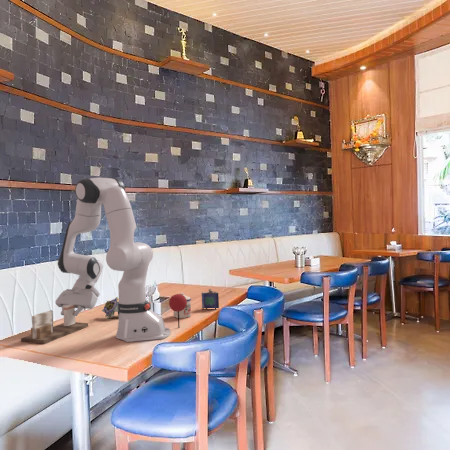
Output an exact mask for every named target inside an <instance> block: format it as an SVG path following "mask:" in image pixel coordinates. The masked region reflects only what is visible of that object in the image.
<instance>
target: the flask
mask: <svg viewBox="0 0 450 450" xmlns="http://www.w3.org/2000/svg"><path fill="white" fill-rule="evenodd" d="M219 297H220V296H219V292H218V291H213V290H212V289H211V288H209V289H208V291H204V292H203V291H202V292H201V309H202V308H215V309H216V308H219V309H220V301H219V300H220V299H219Z"/></svg>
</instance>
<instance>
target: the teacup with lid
mask: <svg viewBox="0 0 450 450" xmlns="http://www.w3.org/2000/svg"><path fill="white" fill-rule="evenodd" d="M179 294H181V295H183V296H184V297H185V298H186V300H187V305H186V307H185V309H184V310H182V311H179V319H186V317H188V318H190V317H192V303H191V302H192V301H191V300H192V298H191V296H187V295H185V293H184V292H180V293H179ZM175 317H176V318H175ZM173 318H175V319H178V312H176V311H173Z"/></svg>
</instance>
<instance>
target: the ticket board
mask: <svg viewBox="0 0 450 450" xmlns="http://www.w3.org/2000/svg"><path fill="white" fill-rule="evenodd" d="M53 315H54V313H53V310H52V309H51V310H47V311H44V312H41V313H36V314H33V315H31V328H30V334H29V335H26V336H23V337H20V342H21V343H29V344H36V345H37V344H39V345H45V344H48V343H50V342H53V341H56V340H58V339H61V338H63V337H66V336H67V335H71V334H72V333H75V332H78V331H81V330H83V329H85V328H88V327H89V322H77V321H75V324H72V325H70V326H64V322H62V323H60V324H57V325H54V316H53Z"/></svg>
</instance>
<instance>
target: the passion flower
mask: <svg viewBox="0 0 450 450" xmlns="http://www.w3.org/2000/svg"><path fill="white" fill-rule="evenodd" d="M118 303H119V296H116V297H115V298H113V299H111V300H106V302H105V304H104V307H103V309H102V310H101V312H104V313H105V318H106V319H107V320H109V319H110V318H113V317H114V316H115V313H116V312H117V313H118Z"/></svg>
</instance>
